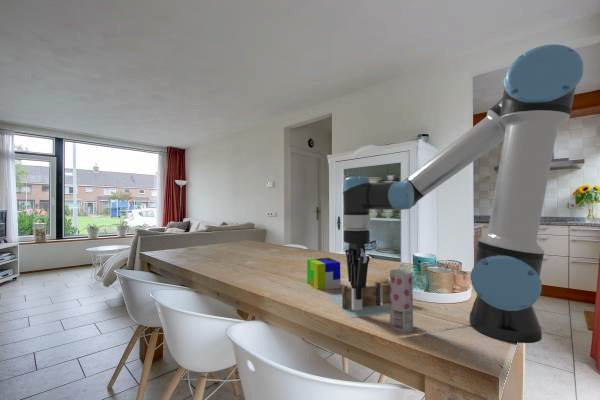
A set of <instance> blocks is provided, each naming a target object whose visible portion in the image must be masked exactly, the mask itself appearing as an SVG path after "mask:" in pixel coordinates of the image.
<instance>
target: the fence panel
mask: <svg viewBox="0 0 600 400" xmlns="http://www.w3.org/2000/svg"><path fill="white" fill-rule="evenodd" d="M341 287H342V289H341V292H342V293H341V294H342V308H345V309H346V308H352V287H351V286H348V285H341ZM370 305H377V306H380V305H381V282H379V281H376V282H374V284H370V285H367V284H366V287H365V288H362V306H370Z"/></svg>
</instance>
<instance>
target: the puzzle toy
mask: <svg viewBox="0 0 600 400" xmlns="http://www.w3.org/2000/svg"><path fill="white" fill-rule="evenodd" d="M306 261H307V262H306V264H307V265H306V266H307V268H306V270H307V271H306V274H307V275H306V276H307V277H306V278H307V279H306V283H307V285H309V286H311V287H312V288H313V289H315V290H316V291H322V290H330V289H332V290H333V289H338V288H341V287H342V285H341V262H340V261H338V260H336V259H333V258H331V257H322V258H311V259H307V260H306Z"/></svg>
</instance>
